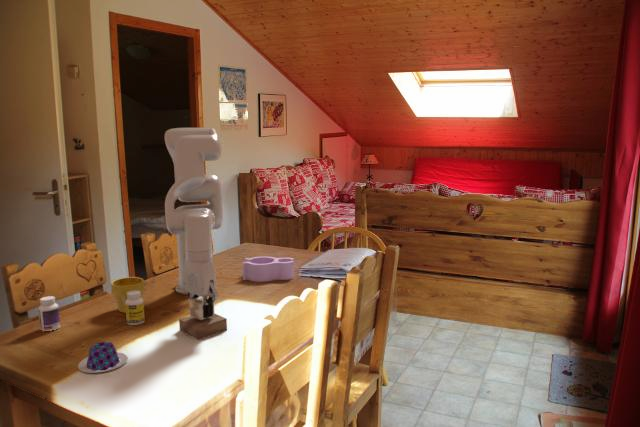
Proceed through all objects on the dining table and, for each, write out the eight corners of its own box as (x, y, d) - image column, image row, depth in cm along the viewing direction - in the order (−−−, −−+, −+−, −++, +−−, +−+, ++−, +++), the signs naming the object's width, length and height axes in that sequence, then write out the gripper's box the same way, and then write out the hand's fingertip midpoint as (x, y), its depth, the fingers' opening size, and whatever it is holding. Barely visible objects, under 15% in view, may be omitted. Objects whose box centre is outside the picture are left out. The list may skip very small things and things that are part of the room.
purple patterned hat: (92, 354, 144) (90, 335, 143) (135, 354, 143) (133, 336, 142) (68, 375, 132) (66, 355, 131) (115, 376, 131) (113, 356, 130)
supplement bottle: (128, 326, 162) (125, 296, 160) (125, 321, 167) (123, 291, 165) (146, 323, 164) (144, 293, 163) (143, 317, 169) (141, 288, 167)
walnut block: (179, 331, 159) (179, 319, 158) (208, 322, 165) (207, 310, 165) (198, 341, 152) (197, 328, 151) (227, 331, 158) (226, 318, 158)
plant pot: (151, 308, 177) (149, 280, 175) (122, 317, 170) (120, 288, 168) (136, 301, 184) (134, 274, 182) (107, 309, 177) (104, 281, 175)
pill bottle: (64, 326, 163) (61, 296, 161) (50, 333, 158) (47, 301, 156) (50, 324, 165) (47, 294, 163) (36, 330, 160) (33, 300, 158)
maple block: (190, 316, 157) (189, 300, 156) (203, 311, 161) (203, 295, 160) (200, 320, 154) (200, 303, 153) (214, 315, 158) (213, 299, 157)
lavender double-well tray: (295, 272, 217) (294, 256, 216) (293, 281, 205) (292, 264, 204) (246, 272, 218) (246, 256, 216) (241, 282, 205) (241, 264, 204)
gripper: (171, 253, 157) (174, 311, 160) (207, 262, 146) (210, 325, 149) (191, 248, 163) (195, 305, 166) (228, 257, 152) (231, 317, 155)
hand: (202, 313), depth 158 cm, fingers closed on maple block, 4 cm apart
